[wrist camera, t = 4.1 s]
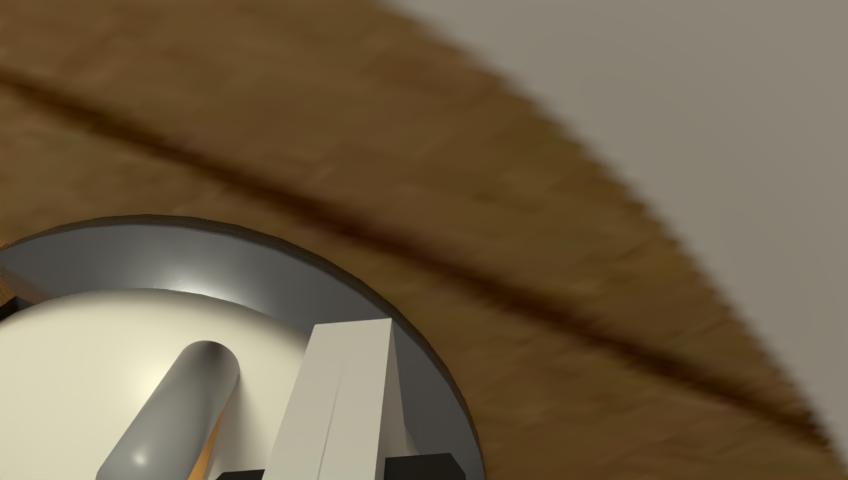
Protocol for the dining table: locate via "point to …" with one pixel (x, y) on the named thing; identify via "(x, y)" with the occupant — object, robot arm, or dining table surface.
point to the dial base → (240, 298)
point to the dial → (143, 386)
